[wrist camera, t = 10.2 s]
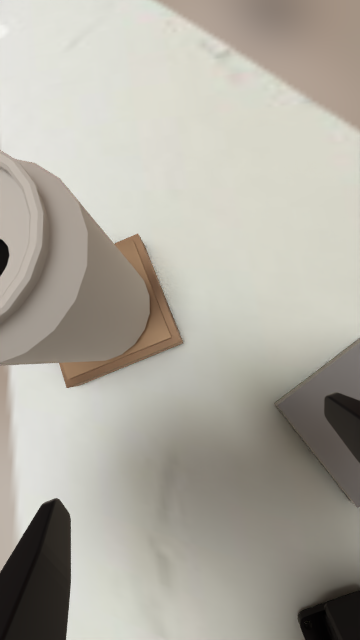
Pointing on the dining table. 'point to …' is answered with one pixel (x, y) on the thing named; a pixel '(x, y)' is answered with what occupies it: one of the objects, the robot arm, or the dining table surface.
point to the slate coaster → (311, 424)
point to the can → (60, 276)
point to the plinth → (157, 331)
